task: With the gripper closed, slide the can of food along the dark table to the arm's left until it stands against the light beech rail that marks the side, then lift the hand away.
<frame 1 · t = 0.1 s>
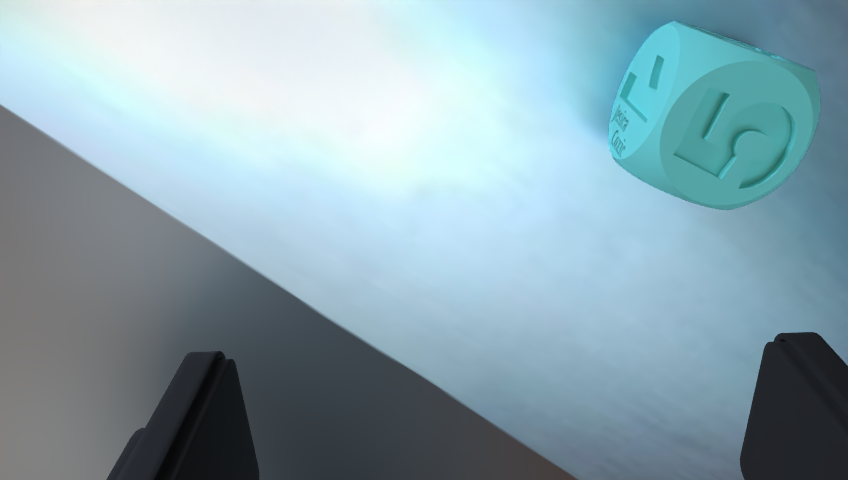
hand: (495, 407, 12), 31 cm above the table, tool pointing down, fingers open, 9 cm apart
decorative dice: (681, 95, 41), on the table
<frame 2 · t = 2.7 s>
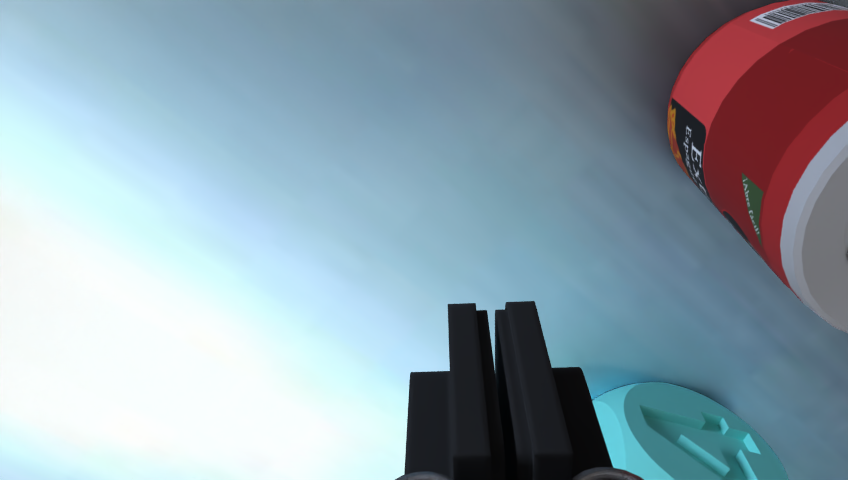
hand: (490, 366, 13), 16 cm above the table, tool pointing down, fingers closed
canned food: (759, 97, 26), on the table
decorative dice: (638, 436, 35), on the table
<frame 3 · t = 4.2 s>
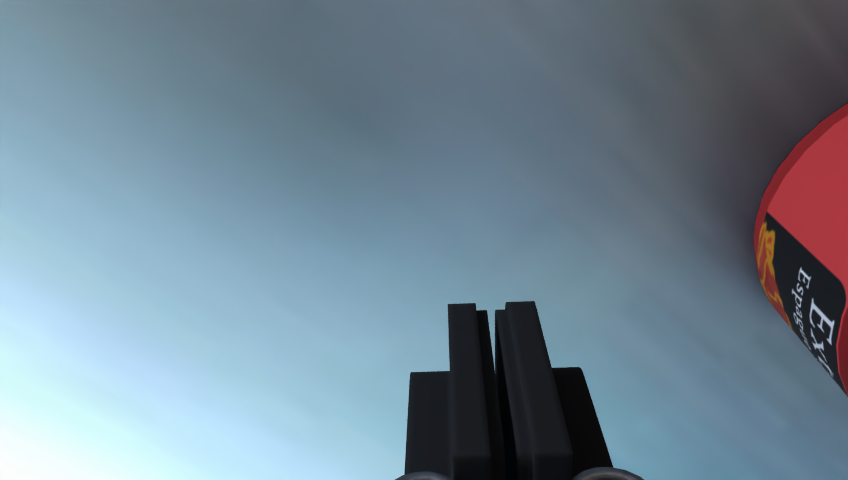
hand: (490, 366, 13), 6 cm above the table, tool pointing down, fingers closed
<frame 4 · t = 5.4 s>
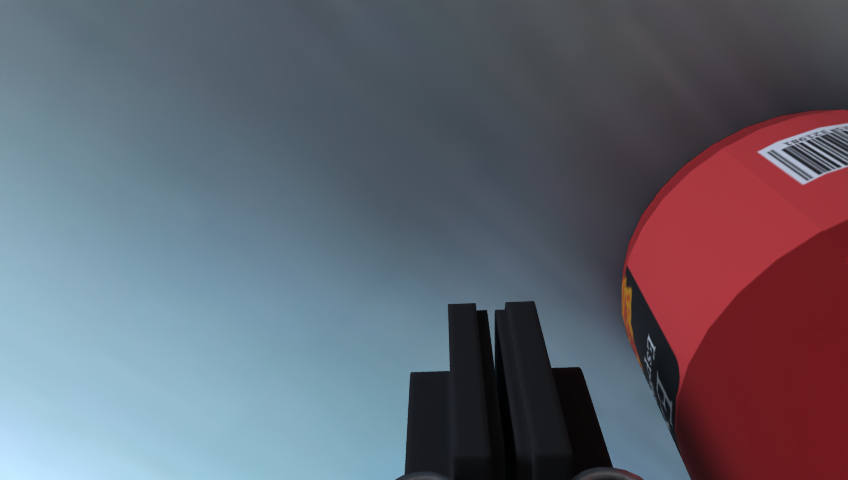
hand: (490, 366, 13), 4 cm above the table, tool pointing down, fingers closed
canned food: (773, 253, 16), on the table, touching gripper
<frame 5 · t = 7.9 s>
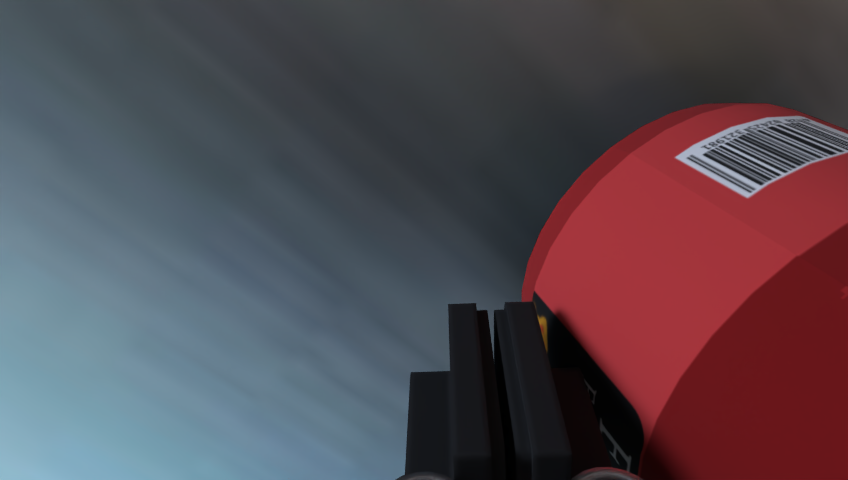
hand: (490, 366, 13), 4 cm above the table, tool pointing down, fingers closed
canned food: (659, 251, 15), point 1 cm above the table, touching gripper
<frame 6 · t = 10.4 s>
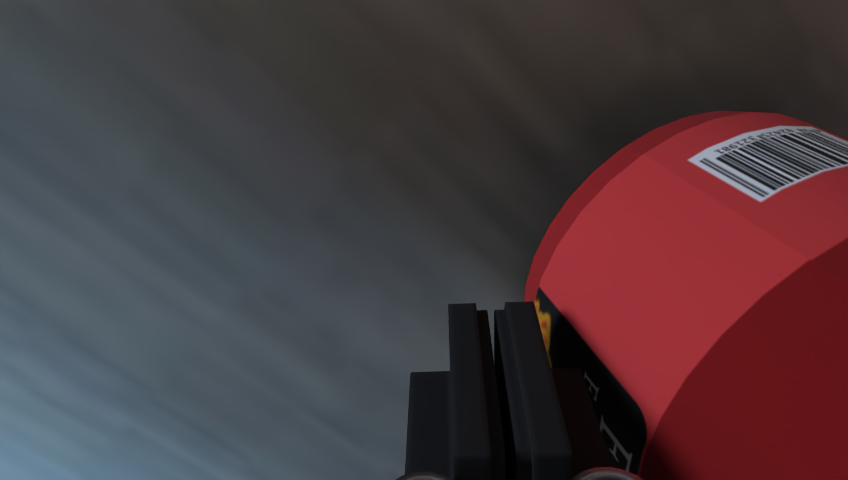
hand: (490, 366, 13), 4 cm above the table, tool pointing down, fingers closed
canned food: (661, 256, 15), point 1 cm above the table, touching gripper
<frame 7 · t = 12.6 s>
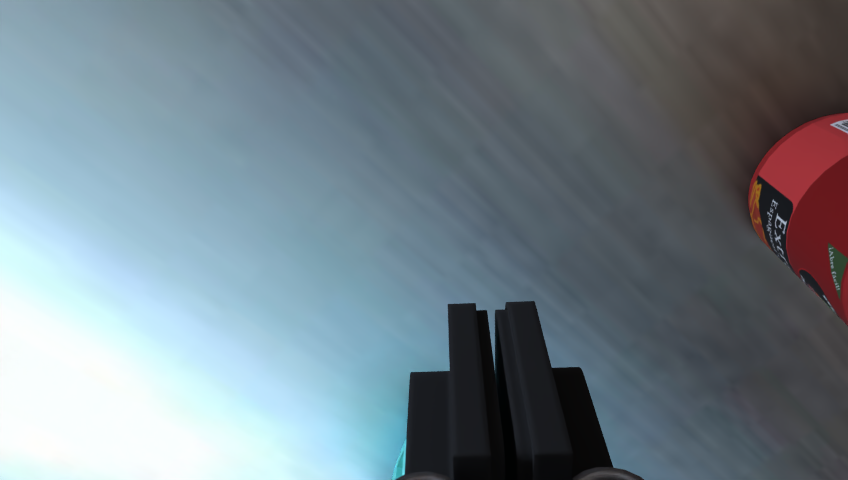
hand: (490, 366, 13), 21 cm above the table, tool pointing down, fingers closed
canned food: (822, 182, 33), on the table
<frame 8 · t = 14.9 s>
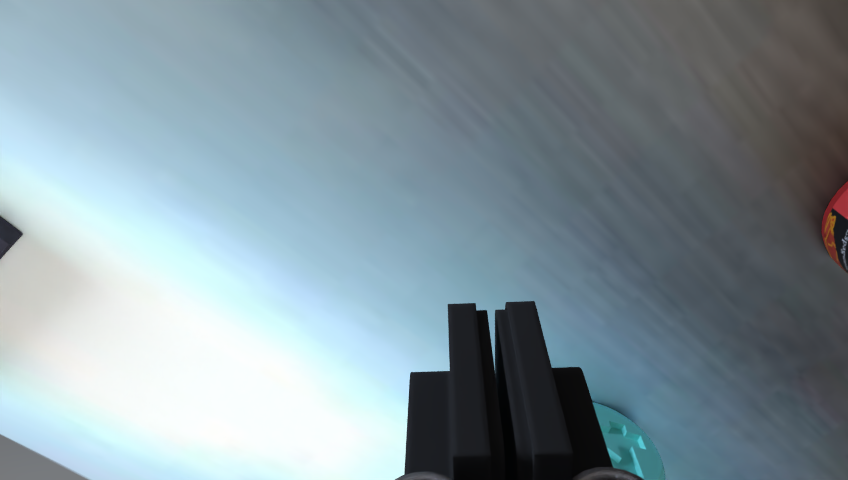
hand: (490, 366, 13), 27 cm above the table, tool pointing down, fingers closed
decorative dice: (571, 438, 49), on the table
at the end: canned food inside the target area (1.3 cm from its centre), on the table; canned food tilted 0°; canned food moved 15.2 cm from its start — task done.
